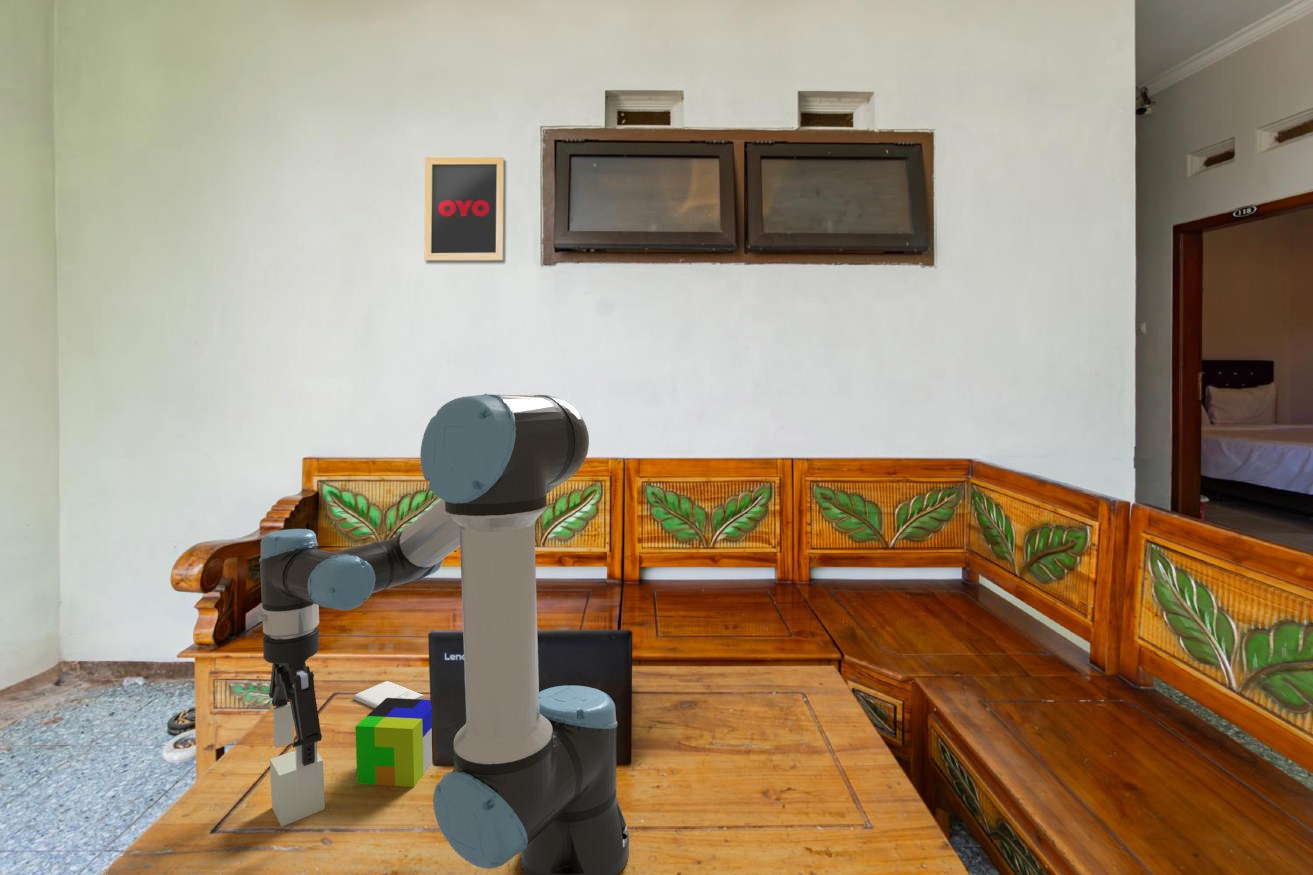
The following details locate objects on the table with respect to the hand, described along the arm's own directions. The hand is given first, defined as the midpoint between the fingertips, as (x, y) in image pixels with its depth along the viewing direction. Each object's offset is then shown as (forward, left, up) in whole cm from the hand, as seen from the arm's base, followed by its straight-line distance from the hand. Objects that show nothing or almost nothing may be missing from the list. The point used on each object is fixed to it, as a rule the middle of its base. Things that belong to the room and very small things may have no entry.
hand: (295, 762), depth 99 cm
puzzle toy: (0, -16, -8) cm, 18 cm away
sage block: (0, 0, -7) cm, 7 cm away
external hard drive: (+27, -24, -8) cm, 37 cm away
